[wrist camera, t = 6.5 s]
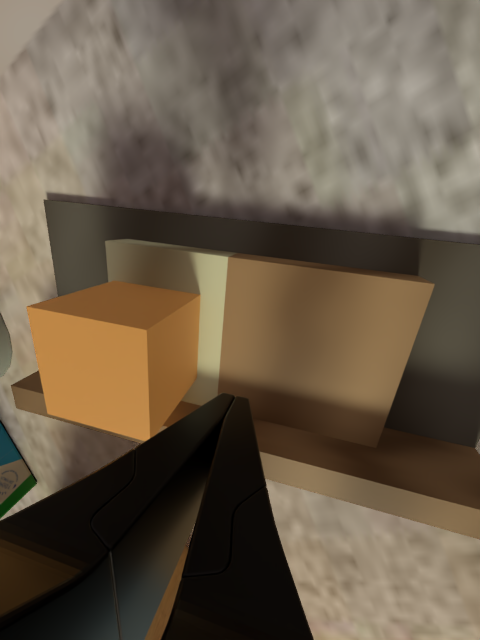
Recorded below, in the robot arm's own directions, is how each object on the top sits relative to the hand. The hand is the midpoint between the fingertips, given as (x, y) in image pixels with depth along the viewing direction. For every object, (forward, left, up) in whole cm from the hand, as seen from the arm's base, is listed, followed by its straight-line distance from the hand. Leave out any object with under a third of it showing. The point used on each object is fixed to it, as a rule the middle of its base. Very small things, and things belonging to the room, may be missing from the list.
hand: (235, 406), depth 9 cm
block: (+5, 0, -4) cm, 7 cm away
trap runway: (+1, 0, -6) cm, 7 cm away
